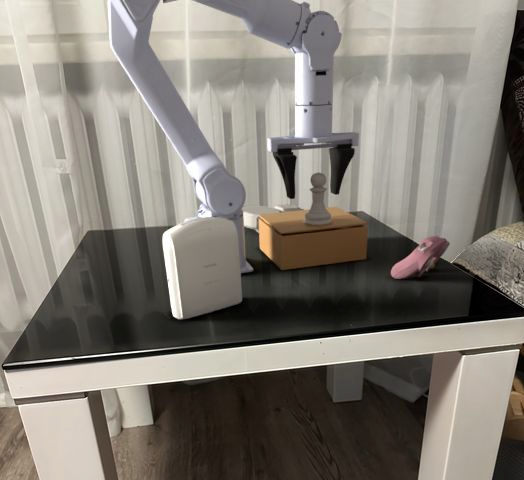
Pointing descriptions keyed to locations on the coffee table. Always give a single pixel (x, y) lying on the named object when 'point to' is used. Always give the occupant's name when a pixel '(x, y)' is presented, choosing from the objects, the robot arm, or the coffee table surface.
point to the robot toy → (254, 211)
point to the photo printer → (202, 266)
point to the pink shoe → (421, 258)
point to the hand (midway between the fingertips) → (313, 195)
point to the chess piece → (318, 203)
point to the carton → (314, 242)
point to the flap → (297, 215)
